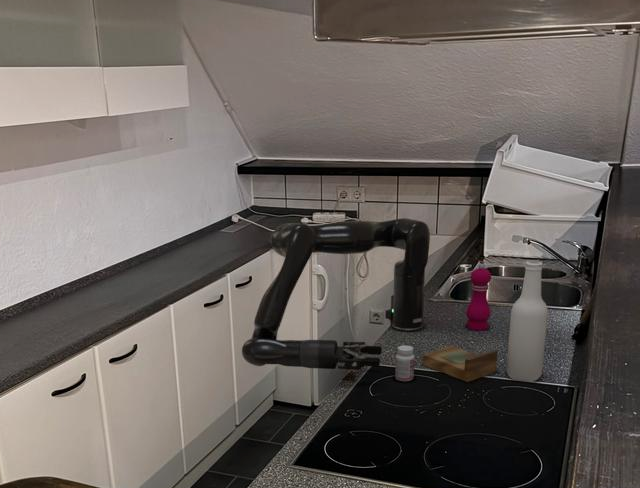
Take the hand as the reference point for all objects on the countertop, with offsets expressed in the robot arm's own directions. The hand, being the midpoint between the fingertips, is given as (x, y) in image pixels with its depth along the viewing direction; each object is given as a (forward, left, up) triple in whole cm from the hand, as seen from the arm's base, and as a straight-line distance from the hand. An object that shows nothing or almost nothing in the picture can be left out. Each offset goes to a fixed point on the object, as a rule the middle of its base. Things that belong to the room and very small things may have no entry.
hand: (380, 356), depth 197 cm
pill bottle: (+4, +4, -6) cm, 9 cm away
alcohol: (+22, +29, -6) cm, 37 cm away
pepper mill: (-12, +50, -6) cm, 52 cm away
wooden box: (+8, +20, -6) cm, 23 cm away
